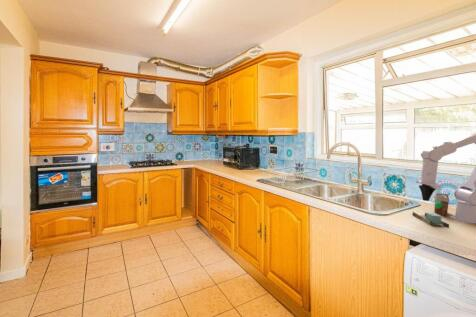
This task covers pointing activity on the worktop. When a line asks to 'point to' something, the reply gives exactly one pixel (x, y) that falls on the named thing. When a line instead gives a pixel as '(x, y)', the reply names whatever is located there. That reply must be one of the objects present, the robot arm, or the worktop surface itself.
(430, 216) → the teal block
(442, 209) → the food container
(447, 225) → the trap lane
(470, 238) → the worktop surface
